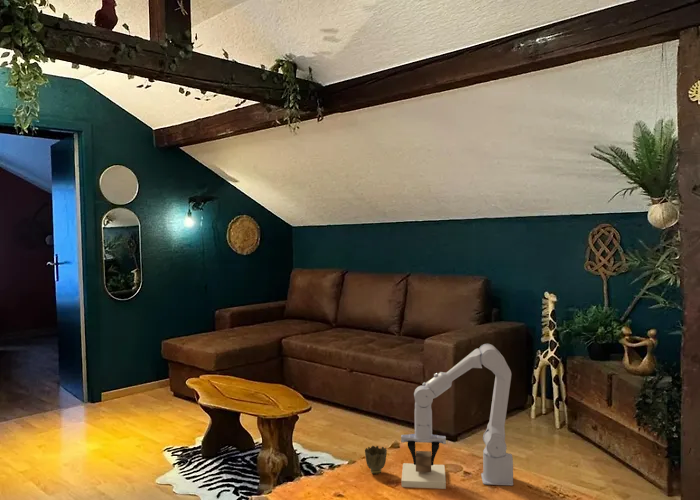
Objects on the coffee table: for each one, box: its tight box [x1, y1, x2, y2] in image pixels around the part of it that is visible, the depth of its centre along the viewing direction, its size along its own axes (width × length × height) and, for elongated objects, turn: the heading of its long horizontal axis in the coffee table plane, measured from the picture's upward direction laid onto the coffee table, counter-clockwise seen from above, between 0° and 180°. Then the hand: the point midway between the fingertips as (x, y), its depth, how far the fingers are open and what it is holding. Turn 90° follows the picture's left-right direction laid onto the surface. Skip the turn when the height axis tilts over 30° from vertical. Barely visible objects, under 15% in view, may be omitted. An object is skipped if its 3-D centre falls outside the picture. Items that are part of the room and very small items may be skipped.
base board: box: [400, 462, 447, 490], centre depth 200 cm, size 14×14×2 cm
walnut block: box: [415, 450, 432, 472], centre depth 200 cm, size 5×5×5 cm
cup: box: [364, 445, 388, 475], centre depth 204 cm, size 8×7×8 cm
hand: (423, 463), depth 199 cm, fingers closed on walnut block, 5 cm apart
